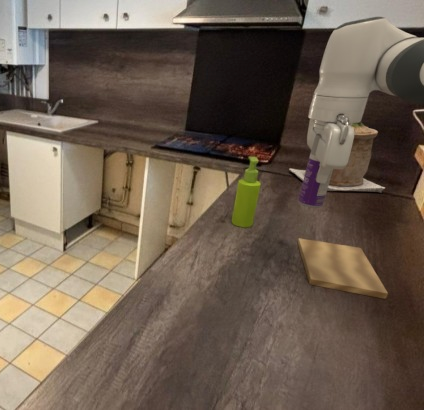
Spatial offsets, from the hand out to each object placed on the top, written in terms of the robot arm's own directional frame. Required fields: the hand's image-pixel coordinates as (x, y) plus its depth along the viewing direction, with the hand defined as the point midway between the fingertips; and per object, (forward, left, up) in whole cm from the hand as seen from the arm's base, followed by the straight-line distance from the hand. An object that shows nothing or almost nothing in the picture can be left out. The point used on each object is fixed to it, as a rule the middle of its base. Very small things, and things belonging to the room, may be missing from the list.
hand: (317, 177), depth 76 cm
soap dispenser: (+11, -23, -23) cm, 35 cm away
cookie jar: (-22, -75, -23) cm, 81 cm away
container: (0, 0, -6) cm, 6 cm away
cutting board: (-10, -5, -23) cm, 26 cm away
